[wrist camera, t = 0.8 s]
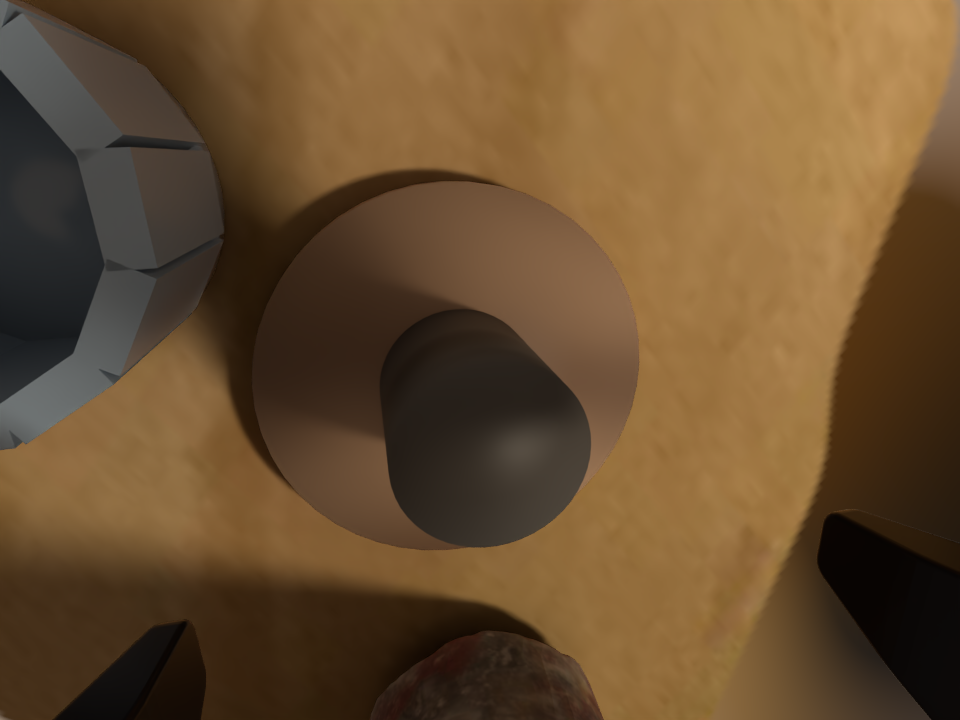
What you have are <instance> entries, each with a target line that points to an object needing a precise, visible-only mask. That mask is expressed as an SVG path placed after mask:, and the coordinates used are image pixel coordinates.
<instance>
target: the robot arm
mask: <svg viewBox="0 0 960 720" xmlns="http://www.w3.org/2000/svg"><path fill="white" fill-rule="evenodd" d="M817 565H818V568H819V571H820V573H821V574H822V576H823V578H824V579H825V580H826V582H827V583H828V585H829V586H830V587H831V589H832V590H833V592H834V593H835V594H836V596H837V597H838V599H839V600H840V601H841V602H842V604H843V606H844V607H845V608H846V610H847V611H848V613H849V614H850V615H851V617H852V618H853V619H854V621H855V622H856V624H857V625H858V627H859V628H860V630H861V631H862V632H863V634H864V635H865V637H866V638H867V639H868V641H869V642H870V644H871V645H872V646H873V648H874V649H875V650H876V652H877V653H878V655H879V656H880V657H881V658H882V660H883V661H884V663H885V664H886V665H887V667H888V668H889V669H890V670H891V672H892V673H893V674H894V676H895V677H896V678H897V679H898V681H899V682H900V683H901V684H902V686H903V687H904V688H905V689H906V690H907V692H908V693H909V694H910V695H911V696H912V697H913V699H914V700H915V701H916V702H917V703H918V705H920V707H921V708H922V709H923V711H924V712H925V713H926V714H927V715H928V716H929V718H930V719H931V720H960V543H958V542H954V541H951V540H948V539H945V538H942V537H939V536H936V535H933V534H930V533H927V532H924V531H921V530H918V529H915V528H912V527H909V526H906V525H903V524H900V523H897V522H894V521H891V520H888V519H885V518H882V517H879V516H876V515H873V514H870V513H867V512H864V511H860V510H857V509H848V510H842V511H836V512H831V513H829V514H828V515H827V516H826V517H825V518H824V521H823V525H822V530H821V535H820V541H819V546H818V551H817ZM205 688H206V671H205V666H204V662H203V658H202V654H201V650H200V646H199V643H198V639H197V635H196V631H195V628H194V626H193V624H192V622H191V621H189V620H186V619H184V620H178V621H172V622H166V623H160V624H157V625H154V626H153V627H151V628H150V629H149V630H148V631H147V632H146V633H144V634H143V635H142V636H141V637H140V638H139V639H138V640H137V641H136V642H135V643H134V644H133V645H132V646H131V647H130V648H129V649H127V650H126V651H125V652H124V653H123V654H122V655H121V656H120V657H119V658H118V659H117V660H116V661H115V662H114V663H113V664H111V665H110V666H109V667H108V668H107V669H106V670H105V671H104V672H103V673H102V674H101V675H100V676H99V677H98V678H97V679H96V680H94V681H93V682H92V683H91V684H90V685H89V686H88V687H87V688H86V689H85V690H84V691H83V692H82V693H81V694H80V695H78V696H77V697H76V698H75V699H74V700H73V701H72V702H71V703H70V704H69V705H68V706H67V707H66V708H65V709H64V710H63V711H61V712H60V713H59V714H58V715H57V716H56V717H55V718H54V719H53V720H201V714H202V707H203V701H204V695H205Z"/></svg>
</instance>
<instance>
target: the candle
mask: <svg viewBox="0 0 960 720" xmlns="http://www.w3.org/2000/svg"><path fill="white" fill-rule="evenodd" d="M370 720H604V719H603V717H602V714H601V712H600V709H599V707H598V704H597V701H596V699H595V696H594V694H593V691H592V688H591V686H590V684H589V682H588V680H587V678H586V676H585V674H584V672H583V670H582V668H581V666H580V665H579V664H578V663H577V662H576V661H575V660H574V659H573V658H571V657H570V656H568V655H564V654H561V653H560V652H558V651H557V650H556V649H554V648H552V647H550V646H548V645H546V644H543V643H541V642H539V641H537V640H534V639H530V638H526V637H524V636H521V635H519V634H515V633H508V632H501V631H481V632H479V633H476V634H474V635H472V636H464V637H460V638H457V639H454V640H452V641H450V642H448V643H446V644H445V645H443V646H442V647H441V648H440V649H438V650H437V651H436V652H435V653H433V654H432V655H430V656H429V657H427V658H426V659H424V660H422V661H420V662H418V663H417V664H415V665H414V666H412V667H411V668H410V669H409V670H408V671H406V672H405V673H403V674H402V675H401V676H400V677H399V678H398V679H397V680H396V681H395V682H393V683H391V684H390V685H389V687H388V688H387V689H386V690H385V691H384V692H383V693H382V694H381V695H380V696H379V697H378V698H377V700H376V703H375V706H374V708H373V711H372V713H371V718H370Z"/></svg>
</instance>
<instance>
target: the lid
mask: <svg viewBox="0 0 960 720" xmlns="http://www.w3.org/2000/svg"><path fill="white" fill-rule="evenodd" d="M638 370H639V339H638V332H637V325H636V319H635V315H634V312H633V308H632V305H631V301H630V298H629V295H628V293H627V291H626V288H625V286H624V284H623V282H622V279H621V277H620V275H619V273H618V272H617V270H616V268H615V267H614V265H613V264H612V262H611V261H610V259H609V257H608V256H607V254H606V253H605V252H604V251H603V250H602V248H601V247H600V246H599V245H598V244H597V243H596V241H595V240H594V239H593V238H592V237H591V236H590V235H589V234H588V233H587V232H586V231H585V230H584V229H582V228H581V227H580V226H579V225H578V224H577V223H576V222H575V221H573V220H572V219H571V218H569V217H568V216H566V215H565V214H563V213H562V212H560V211H559V210H557V209H556V208H554V207H552V206H551V205H549V204H547V203H545V202H543V201H540V200H538V199H536V198H534V197H532V196H530V195H527V194H525V193H521V192H518V191H515V190H511V189H508V188H505V187H501V186H495V185H489V184H482V183H476V182H469V181H436V182H428V183H420V184H413V185H409V186H406V187H402V188H398V189H394V190H391V191H387V192H385V193H382V194H380V195H378V196H375V197H373V198H370V199H368V200H366V201H363V202H361V203H360V204H358V205H356V206H355V207H353V208H351V209H350V210H348V211H346V212H344V213H343V214H341V215H339V216H338V217H337V218H335V219H334V220H333V221H332V222H330V223H329V224H328V225H327V226H325V227H324V228H323V229H322V230H320V231H319V232H318V233H317V234H316V235H315V236H314V237H313V238H312V239H311V240H310V241H309V242H308V243H307V244H306V245H305V247H304V248H303V249H302V250H301V251H300V252H299V253H298V254H297V256H296V257H295V258H294V260H293V261H292V263H291V264H290V266H289V267H288V268H287V270H286V271H285V273H284V274H283V276H282V277H281V279H280V280H279V282H278V284H277V286H276V288H275V290H274V292H273V294H272V296H271V298H270V299H269V301H268V303H267V305H266V308H265V311H264V314H263V317H262V320H261V323H260V326H259V329H258V332H257V337H256V342H255V348H254V353H253V362H252V390H253V399H254V407H255V412H256V416H257V420H258V423H259V427H260V431H261V434H262V436H263V439H264V441H265V443H266V445H267V448H268V450H269V452H270V455H271V457H272V458H273V460H274V461H275V463H276V465H277V466H278V468H279V470H280V471H281V473H282V474H283V476H284V477H285V479H286V480H287V481H288V482H289V483H290V484H291V486H292V487H293V488H294V489H295V490H296V492H297V493H298V494H299V495H300V496H301V497H302V498H303V499H304V500H305V501H307V502H308V503H309V504H310V505H311V506H312V507H313V508H314V509H315V510H317V511H318V512H319V513H321V514H322V515H324V516H325V517H327V518H328V519H330V520H331V521H332V522H334V523H335V524H337V525H339V526H341V527H343V528H345V529H347V530H349V531H351V532H353V533H355V534H357V535H360V536H362V537H365V538H368V539H371V540H373V541H376V542H379V543H384V544H388V545H392V546H396V547H401V548H410V549H419V550H450V549H458V548H467V547H492V546H499V545H503V544H507V543H511V542H514V541H517V540H520V539H522V538H524V537H526V536H529V535H531V534H533V533H535V532H536V531H538V530H539V529H541V528H543V527H544V526H546V525H547V524H548V523H550V522H551V521H552V520H553V519H555V518H556V517H557V516H558V515H559V514H560V513H561V512H562V511H563V510H564V509H565V508H566V506H567V505H568V504H569V503H570V502H571V500H572V499H573V497H574V496H575V495H576V494H577V493H578V492H579V491H580V490H581V489H582V488H583V487H584V486H585V485H586V484H587V483H588V482H589V481H590V480H591V478H592V477H593V476H594V475H595V474H596V472H597V471H598V470H599V469H600V468H601V466H602V465H603V463H604V462H605V460H606V459H607V457H608V456H609V454H610V453H611V451H612V450H613V448H614V446H615V444H616V442H617V441H618V439H619V437H620V435H621V433H622V431H623V429H624V426H625V424H626V421H627V418H628V416H629V413H630V410H631V407H632V403H633V399H634V395H635V391H636V387H637V379H638Z"/></svg>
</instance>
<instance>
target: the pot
mask: <svg viewBox="0 0 960 720" xmlns="http://www.w3.org/2000/svg"><path fill="white" fill-rule="evenodd" d="M137 60H138V59H136V58H134V57H132V56H130V55H128V54H126V53H124V52H122V51H120V50H118V49H116V48H114V47H112V46H111V45H109V44H107V43H105V42H104V41H102V40H100V39H98V38H95V37H93V36H91V35H89V34H87V33H85V32H83V31H82V30H80V29H78V28H76V27H74V26H72V25H70V24H68V23H66V22H64V21H62V20H60V19H58V18H56V17H54V16H53V15H51V14H49V13H47V12H45V11H43V10H41V9H39V8H36V7H34V6H32V5H30V4H28V3H26V2H24V1H22V0H0V450H4V449H12V448H16V447H17V446H18V445H20V444H21V443H22V442H24V443H25V444H27V443H29V442H30V441H32V440H33V439H35V438H36V437H37V436H39V435H40V434H42V433H43V432H45V431H46V430H48V429H49V428H51V427H52V426H54V425H55V424H56V423H58V422H59V421H61V420H62V419H64V418H65V417H67V416H68V415H70V414H71V413H73V412H74V411H75V410H77V409H78V408H80V407H81V406H83V405H84V404H86V403H87V402H89V401H90V400H92V399H93V398H94V397H96V396H97V395H99V394H100V393H102V392H103V391H105V390H106V389H108V388H109V387H111V386H112V385H114V384H115V383H116V382H117V381H118V380H119V379H120V378H121V377H122V376H124V375H125V374H126V373H127V372H128V371H129V370H130V369H131V368H132V367H133V366H135V365H136V364H137V363H138V362H139V361H140V360H141V359H142V358H143V357H144V356H146V355H147V354H148V353H149V352H150V351H151V350H152V349H153V348H154V347H156V346H157V345H158V344H159V343H160V342H161V341H162V340H163V339H164V338H165V337H167V336H168V335H169V334H170V333H171V332H172V331H173V330H174V329H175V328H176V327H178V326H179V325H180V324H181V323H182V322H183V321H184V320H185V319H186V318H188V317H189V316H190V315H191V314H192V311H194V310H195V309H196V308H197V306H198V303H199V301H200V298H201V296H202V294H203V292H204V291H205V289H206V288H207V286H208V284H209V282H210V280H211V278H212V276H213V274H214V272H215V270H216V267H217V263H218V260H219V257H220V254H221V249H222V243H223V241H224V240H223V237H224V216H225V212H224V204H223V195H222V189H221V185H220V181H219V177H218V173H217V170H216V167H215V165H214V162H213V159H212V157H211V154H210V152H209V149H208V147H207V145H206V143H205V142H204V140H203V138H202V136H201V134H200V132H199V130H198V128H197V127H196V125H195V124H194V123H193V121H192V120H191V118H190V117H189V115H188V114H187V112H186V111H185V109H184V108H183V107H182V106H181V105H180V103H179V102H178V101H177V100H176V99H175V98H174V96H173V95H172V94H171V93H170V92H169V91H168V89H167V88H166V87H165V86H163V85H162V84H161V83H160V82H159V81H158V80H157V79H156V78H155V77H154V76H153V75H152V74H151V72H150V71H149V70H148V69H147V67H146V66H144V65H142V64H139V63H137Z"/></svg>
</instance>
